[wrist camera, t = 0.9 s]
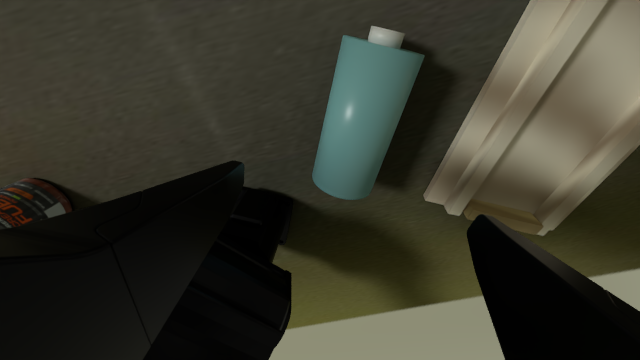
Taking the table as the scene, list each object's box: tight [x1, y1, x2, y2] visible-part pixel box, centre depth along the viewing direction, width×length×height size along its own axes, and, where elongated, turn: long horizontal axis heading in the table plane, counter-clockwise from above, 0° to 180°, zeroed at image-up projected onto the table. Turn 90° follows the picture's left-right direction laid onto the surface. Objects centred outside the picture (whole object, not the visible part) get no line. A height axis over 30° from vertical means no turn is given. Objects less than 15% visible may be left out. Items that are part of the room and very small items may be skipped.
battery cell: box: [312, 26, 425, 200], centre depth 17 cm, size 11×5×5 cm, turn 168°
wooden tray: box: [423, 0, 640, 236], centre depth 17 cm, size 18×12×3 cm, turn 168°
